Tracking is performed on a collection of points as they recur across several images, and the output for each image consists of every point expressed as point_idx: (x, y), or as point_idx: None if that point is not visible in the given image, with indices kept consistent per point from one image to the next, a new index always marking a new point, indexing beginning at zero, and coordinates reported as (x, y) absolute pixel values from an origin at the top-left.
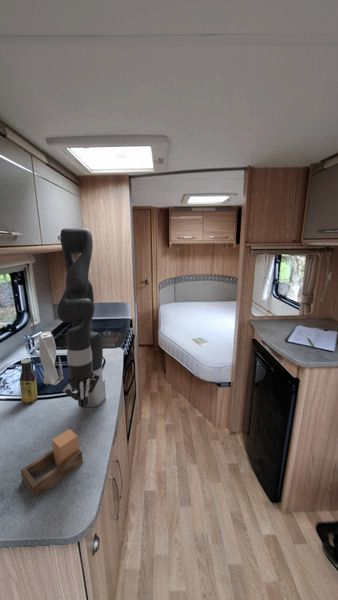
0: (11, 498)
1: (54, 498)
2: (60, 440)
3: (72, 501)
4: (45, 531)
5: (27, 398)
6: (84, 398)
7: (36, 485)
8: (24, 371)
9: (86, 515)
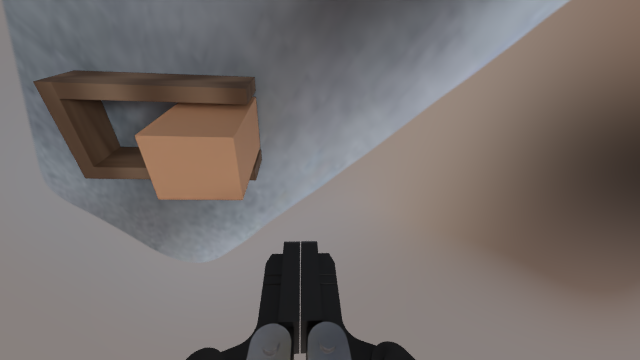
0: (43, 105)
1: None
2: (170, 170)
3: (194, 221)
4: (129, 229)
5: None
6: (298, 349)
7: (96, 178)
8: None
9: (207, 254)
